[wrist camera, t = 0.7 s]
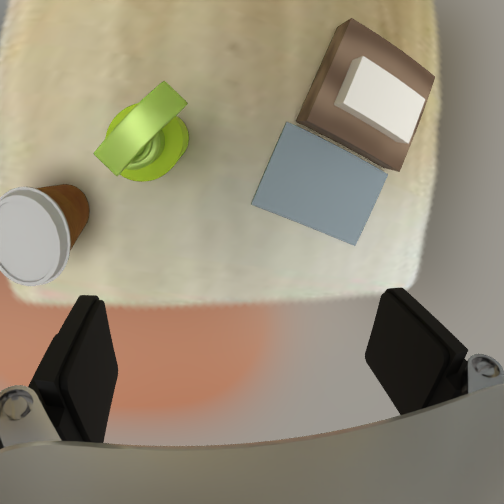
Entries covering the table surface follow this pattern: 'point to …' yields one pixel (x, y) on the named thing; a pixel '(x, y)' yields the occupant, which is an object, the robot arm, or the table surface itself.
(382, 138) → the brown wooden block
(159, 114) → the soap dispenser
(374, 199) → the mat
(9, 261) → the disposable coffee cup
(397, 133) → the tile
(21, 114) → the table surface
